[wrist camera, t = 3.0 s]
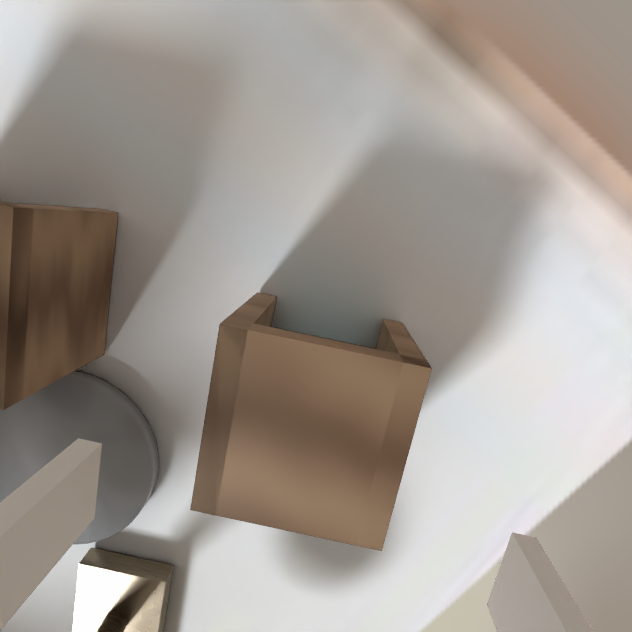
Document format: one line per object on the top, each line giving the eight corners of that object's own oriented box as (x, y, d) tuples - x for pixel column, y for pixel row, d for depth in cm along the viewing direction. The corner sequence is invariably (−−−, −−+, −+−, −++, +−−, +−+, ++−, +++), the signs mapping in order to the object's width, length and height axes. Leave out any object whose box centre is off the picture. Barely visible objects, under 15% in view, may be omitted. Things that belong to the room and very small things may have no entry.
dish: (147, 547, 30) (140, 560, 29) (-18, 511, 31) (-32, 523, 29) (169, 390, 28) (162, 398, 27) (-12, 352, 28) (-27, 358, 27)
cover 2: (368, 454, 28) (381, 550, 20) (234, 425, 28) (190, 509, 20) (402, 322, 26) (431, 368, 18) (257, 292, 26) (220, 323, 18)
